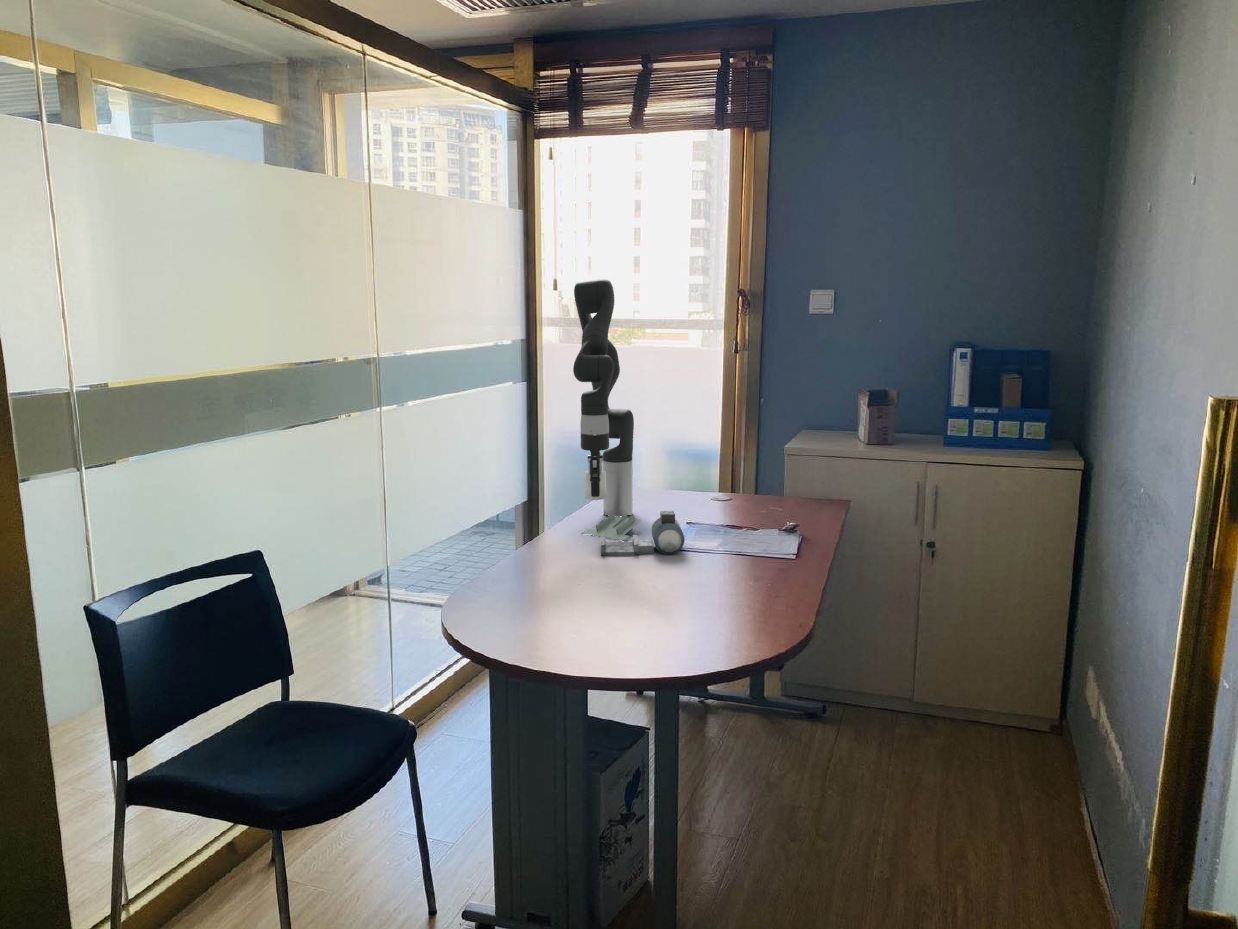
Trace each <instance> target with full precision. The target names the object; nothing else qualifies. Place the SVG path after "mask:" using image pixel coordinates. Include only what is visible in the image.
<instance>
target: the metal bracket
mask: <svg viewBox="0 0 1238 929" xmlns="http://www.w3.org/2000/svg"><path fill="white" fill-rule="evenodd" d="M641 521H642V520H641V519H639V518H635V515H630V516H629V517H628V516H627V514H625V515H624V516H623V517H620V516H614V513H610V515H609V516H606V517H605V518H602V519H601V520H600V521H599V522H597V524H595V527H594V528H593V529H590V528H585V529H584V530H583V531H581V535H583V534H592V535H594V536H593V537H595V536H599V537H598V538H601V535H605V539H606V538H609V539H608V540H612V539H613V541H616V540H622V541H624V542H626V540H627V539H629V538H630V536H629V535H626V534H628V533H629V532H630V531H631V530H633V528H635V527H636V526H637V525H638V524H639V523H640V522H641ZM622 541H621V542H622Z"/></svg>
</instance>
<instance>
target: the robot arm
mask: <svg viewBox="0 0 1238 929" xmlns="http://www.w3.org/2000/svg"><path fill="white" fill-rule="evenodd" d="M573 293H574V300H575V301H574V303H575V305H576V312H577V316H578V318H579V322H580V327H581V331H582V334H581V346H580V347H581V348H580V349H579V352H578V354H577V356H576V357H575V361H574V362H573V369H572V371H573V372H572V373H573V375H574V377H575V379H576V380H577V381H578V382H580V383H591V386H592V390H588V391H584V392H583V393H581V397H580V414H581V415H580V448H581V450H583V451H590V455H588V454H587V464H588V471H589V474H590V482H591V496H592V497H599V496H600V474H601V473H602V470H603V471H606V498H605V499H602V500H603V501H602V502H603V503H602V504H603V505H602V506H603V510H602V511H603V515H604V514H605V515H604V516H606V515H610V513H614V516H624V515H625V514H627V515H630V516H633V514H632V513H634V512H633V506H634V505H633V504H634V503H633V501H634V498H633V496H634V494H633V490H634V489H633V486H634V485H633V454H634V453H633V451H634V429H635V428H634V427H635V421H634V420H635V419H634V413H633V412H632V411H631V409H626V408H624V409H623V408H611V407H610V406H609V397H610V394H611V392H612V390H613V389H614V386H615V385H616V383H617V381H618V378H619V377H620V372H621V369H620V368H621V367H620V361H619V355H618V350H617V349H616V347H615V346H614V344H613V343H612V342H611V340H610V339H609V330H610V325H611V322H612V317H613V313H614V308H615V291H614V287H613V284H612V282H611V281H610V280H609V279H603V278H602V279H595V280H585V281H579V282H577V283H575V285H574V289H573ZM591 314H594V316H593V317H592V315H591ZM610 439H612V440H613V439H614V440H615V439H617V440H619V442H618V445H616V446H615V447H612V448H610ZM601 451H603V452H602V454H601ZM593 474H598V477H592V475H593Z"/></svg>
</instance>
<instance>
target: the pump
mask: <svg viewBox="0 0 1238 929" xmlns="http://www.w3.org/2000/svg"><path fill="white" fill-rule="evenodd" d="M592 477H598V474H593V475H592ZM605 498H606V471H603V469H602V473H601V474H600V496H599V497H592V496H591V482H590V474H589V470H585V471H584V499H585V500H590V501H601V500H603V499H605Z"/></svg>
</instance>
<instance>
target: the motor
mask: <svg viewBox="0 0 1238 929" xmlns="http://www.w3.org/2000/svg"><path fill="white" fill-rule="evenodd" d="M659 512H660V514H659V515H660V517H659V518H657V519H656V520H655V521H654V522H653V523H652V526H651V536H652V539H653V540H652V539H639V538H638V535H637V534H632V539H631V540H632V541H624V542H622V541H606V538H605V535H601V537H600V556H601V557H614V556H615V557H618V556H619V557H620V556H621V557H622V556H623V557H625V556H626V557H629V556H640V554H654V553H655V552H654V550H655V549H654V548H656V549H657V551H658V552H660V553H661V554H663V555H668V556H669V555H670V556H671V555H675V554H677V553H679V552H680V551H681V549H683V547H684V545H685V540H686V539H685V535H684V532H683V529H682V527H681V525H680V523H679V522H678V520H677V519H676V513H675V511H674V510H661V511H659Z"/></svg>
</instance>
